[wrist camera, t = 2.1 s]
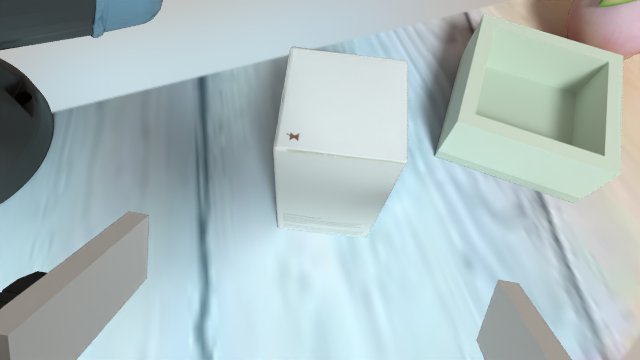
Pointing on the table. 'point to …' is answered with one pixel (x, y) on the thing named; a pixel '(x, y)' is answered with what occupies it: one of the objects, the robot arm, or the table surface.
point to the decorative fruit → (606, 25)
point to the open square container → (535, 110)
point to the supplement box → (339, 140)
